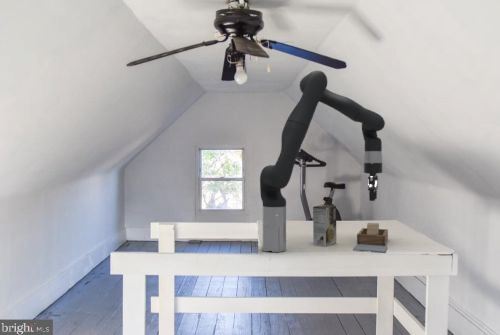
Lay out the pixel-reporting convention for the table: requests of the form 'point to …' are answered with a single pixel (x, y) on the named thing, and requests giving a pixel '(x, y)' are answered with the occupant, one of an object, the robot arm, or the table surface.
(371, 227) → the oak block
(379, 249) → the slate mat
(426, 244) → the table surface
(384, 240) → the walnut surround
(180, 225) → the table surface
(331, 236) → the coffee box
